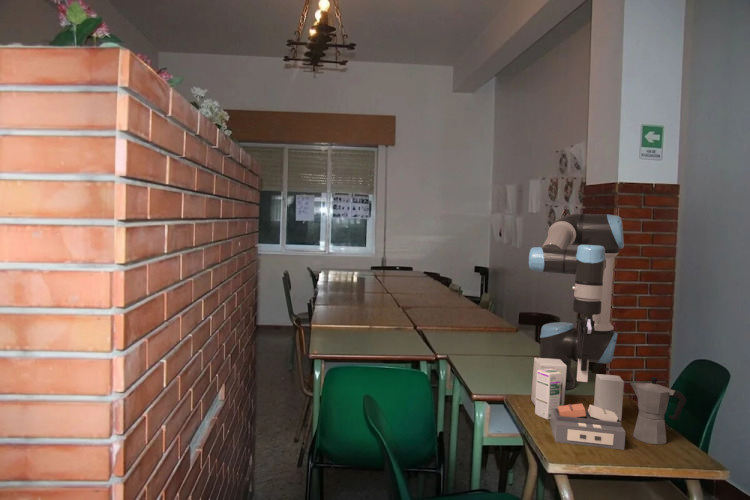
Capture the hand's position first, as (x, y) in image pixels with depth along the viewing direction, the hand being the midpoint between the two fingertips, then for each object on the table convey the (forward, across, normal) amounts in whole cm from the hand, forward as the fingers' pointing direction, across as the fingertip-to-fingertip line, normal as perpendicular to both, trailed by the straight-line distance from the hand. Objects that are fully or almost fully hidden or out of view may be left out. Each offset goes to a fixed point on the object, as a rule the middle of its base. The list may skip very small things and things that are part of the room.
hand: (581, 380), depth 165 cm
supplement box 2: (+16, -21, +12) cm, 29 cm away
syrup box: (+16, -15, -7) cm, 23 cm away
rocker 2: (+9, 0, +6) cm, 11 cm away
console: (+16, 0, +2) cm, 16 cm away
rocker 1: (+9, 0, -2) cm, 9 cm away
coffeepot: (+16, -4, +21) cm, 27 cm away
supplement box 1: (+16, -26, -6) cm, 31 cm away
